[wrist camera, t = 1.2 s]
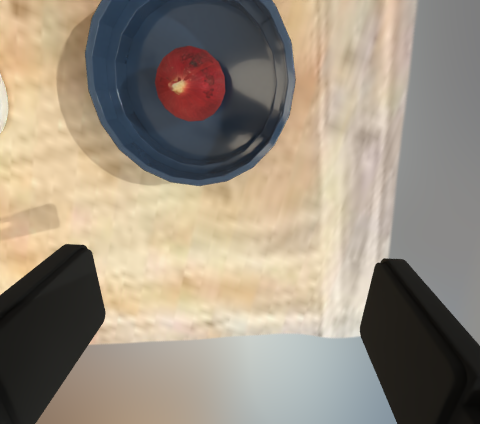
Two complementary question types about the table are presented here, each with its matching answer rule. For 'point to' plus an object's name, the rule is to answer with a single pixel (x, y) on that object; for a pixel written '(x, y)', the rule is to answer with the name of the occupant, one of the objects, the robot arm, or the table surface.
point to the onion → (190, 83)
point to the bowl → (233, 67)
